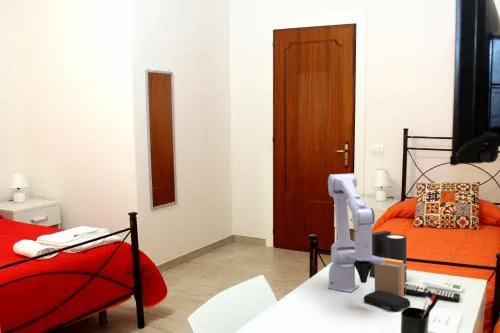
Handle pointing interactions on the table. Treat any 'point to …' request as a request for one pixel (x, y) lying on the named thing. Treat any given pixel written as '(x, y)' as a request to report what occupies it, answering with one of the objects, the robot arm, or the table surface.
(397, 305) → the carrying case or bag
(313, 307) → the table surface
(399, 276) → the tan upright slab
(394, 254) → the light fixture
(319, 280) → the table surface
